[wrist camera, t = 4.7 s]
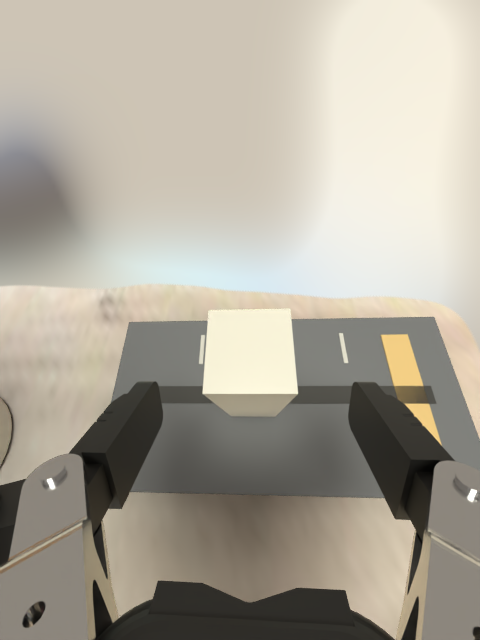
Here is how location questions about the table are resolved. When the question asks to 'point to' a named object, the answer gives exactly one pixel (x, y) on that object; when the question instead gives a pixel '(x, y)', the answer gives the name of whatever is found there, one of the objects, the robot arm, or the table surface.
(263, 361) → the fader knob
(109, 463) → the robot arm
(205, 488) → the fader console
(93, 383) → the table surface
